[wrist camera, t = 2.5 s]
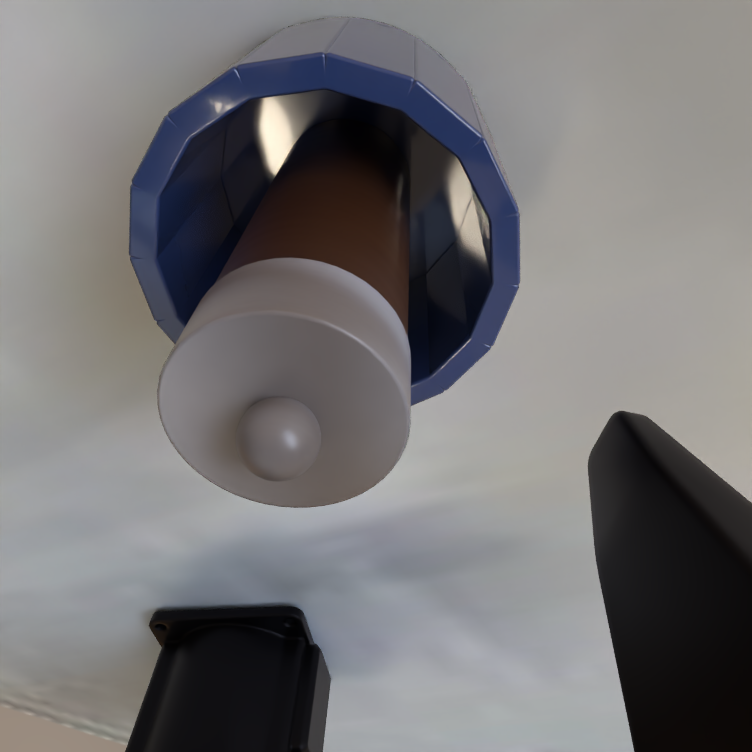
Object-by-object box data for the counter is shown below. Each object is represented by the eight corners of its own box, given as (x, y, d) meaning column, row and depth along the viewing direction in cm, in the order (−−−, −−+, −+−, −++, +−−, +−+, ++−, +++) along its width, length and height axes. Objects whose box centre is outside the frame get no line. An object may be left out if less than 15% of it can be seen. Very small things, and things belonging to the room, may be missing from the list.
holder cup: (248, 314, 17) (198, 432, 13) (167, 42, 13) (60, 91, 9) (495, 289, 16) (521, 406, 12) (485, -9, 13) (518, 22, 9)
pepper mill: (296, 253, 16) (183, 562, 8) (266, 126, 14) (84, 367, 6) (419, 240, 15) (423, 551, 8) (404, 106, 13) (390, 338, 6)
